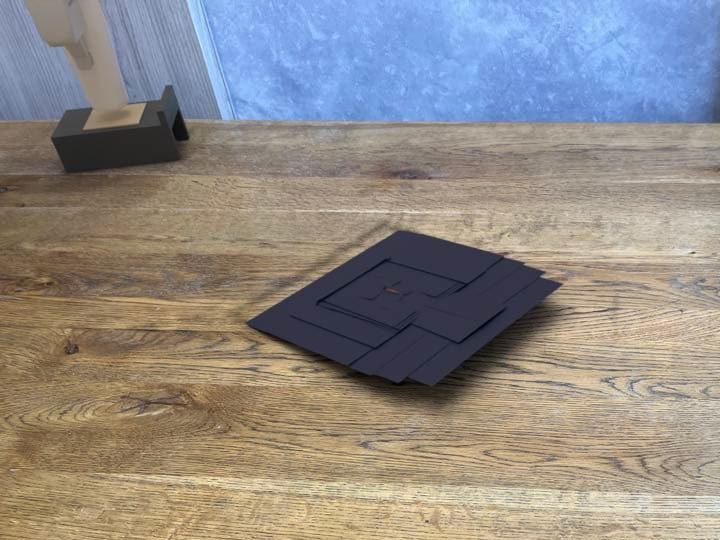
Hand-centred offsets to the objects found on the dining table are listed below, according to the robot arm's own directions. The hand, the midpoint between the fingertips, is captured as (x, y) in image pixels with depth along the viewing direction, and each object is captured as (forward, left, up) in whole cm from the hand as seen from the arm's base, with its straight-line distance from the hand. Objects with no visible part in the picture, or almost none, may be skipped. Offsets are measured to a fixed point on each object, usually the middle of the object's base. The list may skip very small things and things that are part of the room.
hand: (92, 58), depth 114 cm
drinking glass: (0, 0, -7) cm, 7 cm away
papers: (+37, -51, -15) cm, 65 cm away
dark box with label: (0, 0, -14) cm, 15 cm away
